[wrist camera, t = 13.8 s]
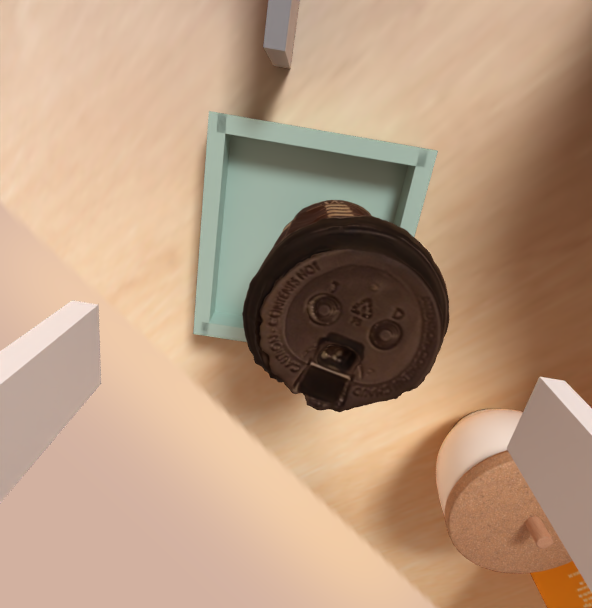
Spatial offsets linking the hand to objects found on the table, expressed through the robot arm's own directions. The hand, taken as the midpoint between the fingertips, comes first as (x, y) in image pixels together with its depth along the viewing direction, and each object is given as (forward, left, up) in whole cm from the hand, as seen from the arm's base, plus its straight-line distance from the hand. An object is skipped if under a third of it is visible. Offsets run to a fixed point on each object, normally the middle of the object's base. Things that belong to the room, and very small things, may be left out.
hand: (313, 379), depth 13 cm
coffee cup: (-1, 0, -17) cm, 17 cm away
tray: (0, 0, -17) cm, 17 cm away
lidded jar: (-17, +14, -17) cm, 28 cm away
